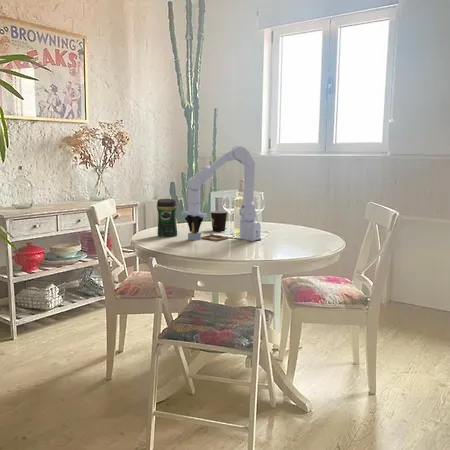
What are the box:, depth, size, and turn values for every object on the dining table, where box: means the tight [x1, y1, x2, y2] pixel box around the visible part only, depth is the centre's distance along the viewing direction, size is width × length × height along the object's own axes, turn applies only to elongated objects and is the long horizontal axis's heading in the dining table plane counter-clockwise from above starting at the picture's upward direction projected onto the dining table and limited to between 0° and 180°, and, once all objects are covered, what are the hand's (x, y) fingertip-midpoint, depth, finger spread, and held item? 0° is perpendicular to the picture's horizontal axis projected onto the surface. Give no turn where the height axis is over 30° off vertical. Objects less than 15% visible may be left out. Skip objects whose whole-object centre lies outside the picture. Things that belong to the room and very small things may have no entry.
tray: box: [200, 234, 229, 242], centre depth 229 cm, size 10×8×1 cm
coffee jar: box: [156, 198, 178, 238], centre depth 236 cm, size 10×8×19 cm
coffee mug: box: [210, 210, 228, 233], centre depth 254 cm, size 12×9×10 cm
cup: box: [187, 232, 202, 241], centre depth 227 cm, size 4×4×4 cm
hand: (194, 231), depth 227 cm, fingers closed on dowel, 2 cm apart
